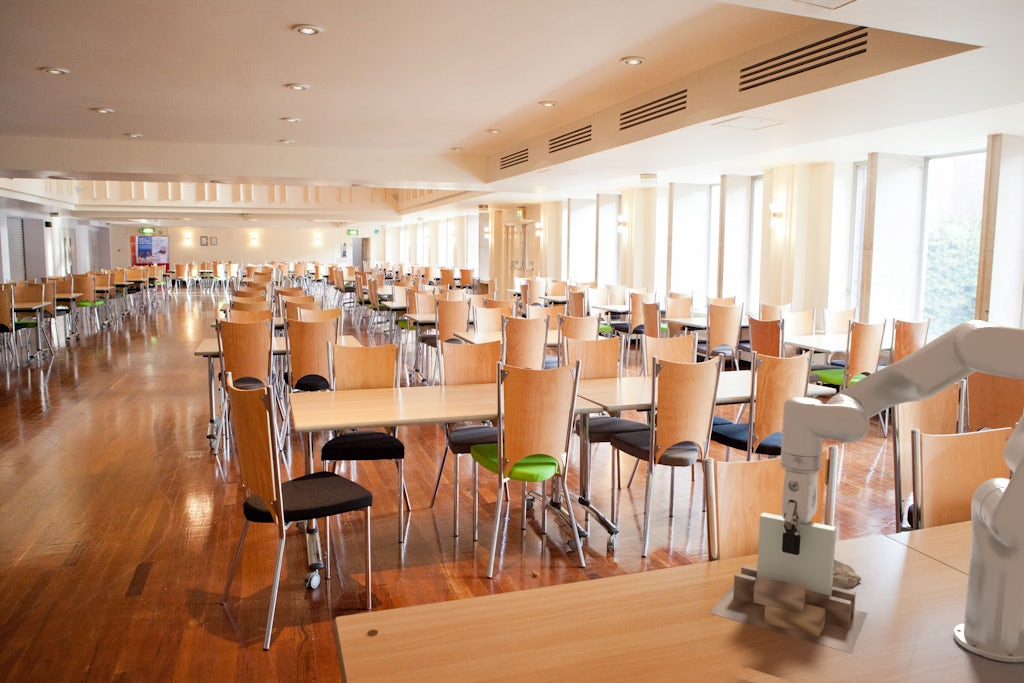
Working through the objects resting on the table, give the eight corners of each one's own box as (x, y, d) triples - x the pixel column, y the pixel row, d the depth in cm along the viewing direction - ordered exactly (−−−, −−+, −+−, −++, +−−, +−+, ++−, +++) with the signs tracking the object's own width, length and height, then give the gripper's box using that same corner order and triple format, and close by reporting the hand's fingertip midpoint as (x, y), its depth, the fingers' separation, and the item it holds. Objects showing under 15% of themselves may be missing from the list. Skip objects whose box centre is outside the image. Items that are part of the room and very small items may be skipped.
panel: (830, 614, 148) (836, 526, 146) (827, 619, 146) (833, 530, 144) (758, 595, 156) (763, 512, 154) (755, 600, 154) (759, 515, 152)
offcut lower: (824, 626, 143) (825, 608, 143) (818, 637, 139) (819, 619, 139) (771, 611, 149) (772, 595, 149) (764, 622, 145) (765, 605, 144)
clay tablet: (795, 606, 155) (870, 590, 162) (796, 583, 155) (871, 568, 162) (752, 579, 168) (823, 566, 175) (752, 558, 168) (823, 545, 175)
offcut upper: (804, 602, 145) (805, 585, 145) (802, 612, 141) (803, 595, 141) (756, 593, 149) (757, 576, 149) (753, 602, 145) (754, 585, 145)
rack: (867, 620, 149) (869, 589, 148) (850, 661, 134) (853, 626, 133) (736, 586, 163) (738, 558, 162) (709, 620, 148) (710, 589, 148)
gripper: (811, 474, 138) (805, 565, 140) (830, 453, 152) (824, 536, 155) (769, 468, 142) (764, 556, 144) (792, 448, 156) (787, 528, 159)
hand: (795, 545), depth 149 cm, fingers open, 7 cm apart
